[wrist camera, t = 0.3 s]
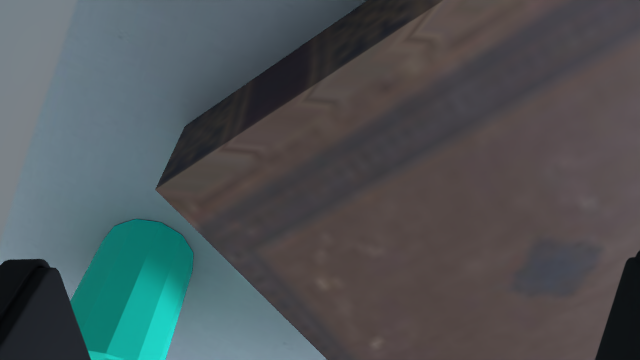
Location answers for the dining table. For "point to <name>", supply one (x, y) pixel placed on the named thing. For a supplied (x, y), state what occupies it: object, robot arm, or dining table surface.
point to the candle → (133, 292)
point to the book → (432, 178)
